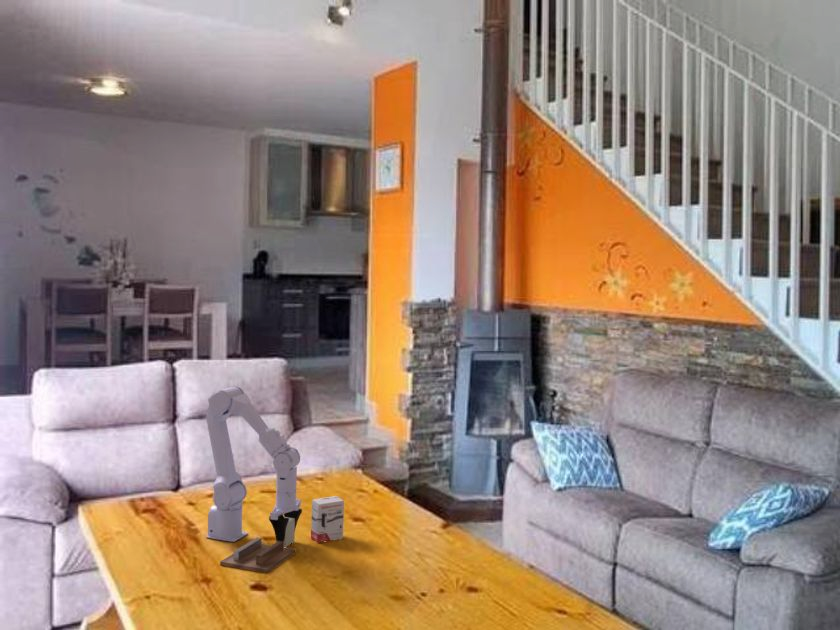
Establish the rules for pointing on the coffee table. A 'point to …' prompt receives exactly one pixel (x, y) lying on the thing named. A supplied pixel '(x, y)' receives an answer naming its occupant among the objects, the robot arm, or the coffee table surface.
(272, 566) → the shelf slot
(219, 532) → the robot arm
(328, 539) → the ink box
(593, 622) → the coffee table surface
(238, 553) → the grey bar
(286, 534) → the white rectangular block
